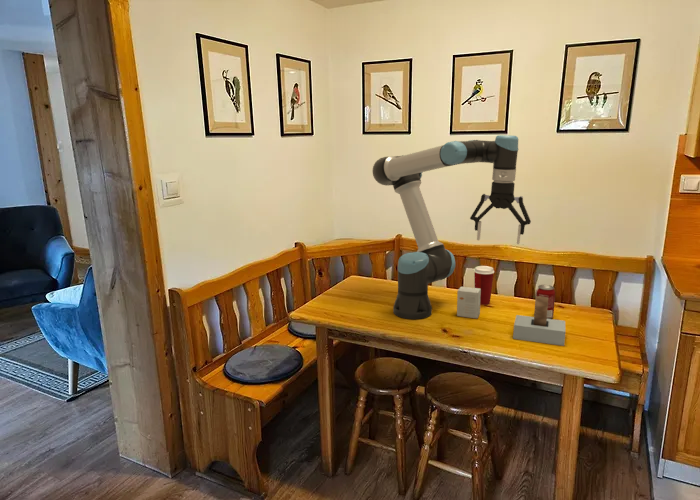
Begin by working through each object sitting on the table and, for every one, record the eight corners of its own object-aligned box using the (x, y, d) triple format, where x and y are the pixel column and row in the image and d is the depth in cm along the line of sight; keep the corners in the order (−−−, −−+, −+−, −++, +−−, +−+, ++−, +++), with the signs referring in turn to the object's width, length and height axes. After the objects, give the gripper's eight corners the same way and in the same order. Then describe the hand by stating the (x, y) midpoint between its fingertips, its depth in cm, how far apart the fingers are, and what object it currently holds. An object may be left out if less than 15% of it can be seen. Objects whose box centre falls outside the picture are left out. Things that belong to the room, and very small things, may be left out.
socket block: (513, 338, 163) (514, 325, 162) (515, 327, 172) (516, 314, 171) (564, 345, 157) (565, 331, 156) (563, 334, 166) (565, 320, 165)
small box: (480, 314, 186) (481, 288, 183) (477, 319, 181) (478, 292, 179) (459, 311, 189) (460, 286, 187) (456, 316, 184) (457, 290, 182)
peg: (532, 338, 163) (535, 299, 160) (533, 333, 167) (535, 295, 164) (545, 339, 162) (548, 300, 158) (545, 335, 165) (548, 297, 162)
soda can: (554, 320, 178) (557, 290, 175) (535, 319, 179) (538, 289, 176) (551, 314, 184) (553, 284, 182) (532, 313, 186) (535, 283, 183)
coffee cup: (495, 301, 199) (497, 267, 196) (489, 307, 193) (491, 271, 189) (475, 298, 204) (477, 264, 200) (469, 303, 197) (470, 269, 194)
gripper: (464, 180, 165) (460, 240, 170) (541, 184, 156) (534, 247, 161) (468, 178, 172) (464, 235, 177) (542, 182, 162) (535, 242, 168)
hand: (498, 241), depth 169 cm, fingers open, 13 cm apart
